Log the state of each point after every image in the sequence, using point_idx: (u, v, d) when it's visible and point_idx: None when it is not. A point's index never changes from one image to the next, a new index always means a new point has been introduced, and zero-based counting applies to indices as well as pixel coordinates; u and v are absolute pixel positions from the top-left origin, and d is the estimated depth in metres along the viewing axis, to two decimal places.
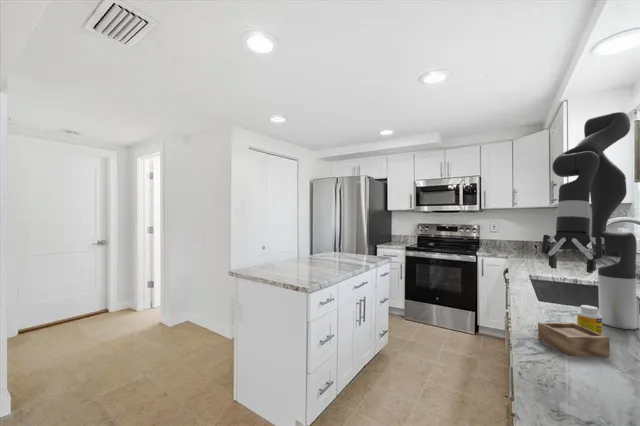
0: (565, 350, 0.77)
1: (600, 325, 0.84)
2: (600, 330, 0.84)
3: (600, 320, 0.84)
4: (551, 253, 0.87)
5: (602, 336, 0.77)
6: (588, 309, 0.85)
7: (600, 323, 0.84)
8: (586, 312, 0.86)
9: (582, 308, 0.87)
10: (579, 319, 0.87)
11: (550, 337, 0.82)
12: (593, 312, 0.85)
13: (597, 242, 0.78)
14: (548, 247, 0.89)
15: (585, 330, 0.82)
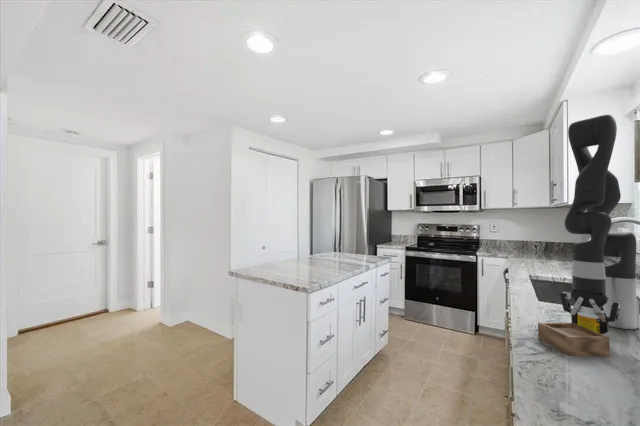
0: (565, 350, 0.77)
1: None
2: None
3: (600, 320, 0.84)
4: (574, 312, 0.89)
5: (602, 336, 0.77)
6: (588, 309, 0.85)
7: None
8: (586, 312, 0.86)
9: (582, 308, 0.87)
10: (579, 319, 0.87)
11: (550, 337, 0.82)
12: (593, 312, 0.85)
13: (613, 307, 0.81)
14: (568, 304, 0.92)
15: (585, 330, 0.82)
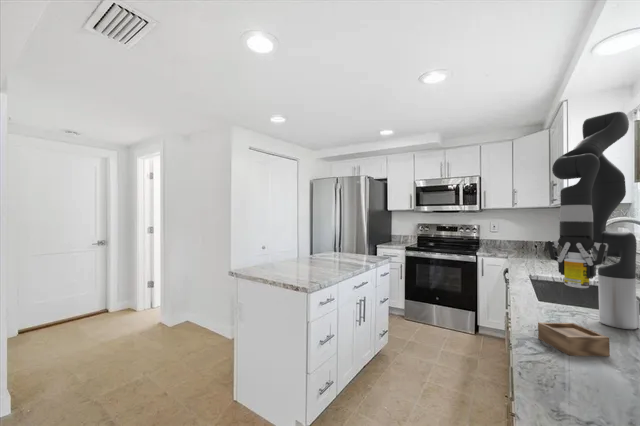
0: (565, 350, 0.77)
1: None
2: None
3: (587, 264, 0.81)
4: (560, 260, 0.86)
5: (602, 336, 0.77)
6: (575, 254, 0.83)
7: None
8: (573, 257, 0.83)
9: (569, 254, 0.84)
10: (566, 265, 0.84)
11: (550, 337, 0.82)
12: (580, 257, 0.82)
13: (600, 249, 0.78)
14: (555, 252, 0.89)
15: (585, 330, 0.82)
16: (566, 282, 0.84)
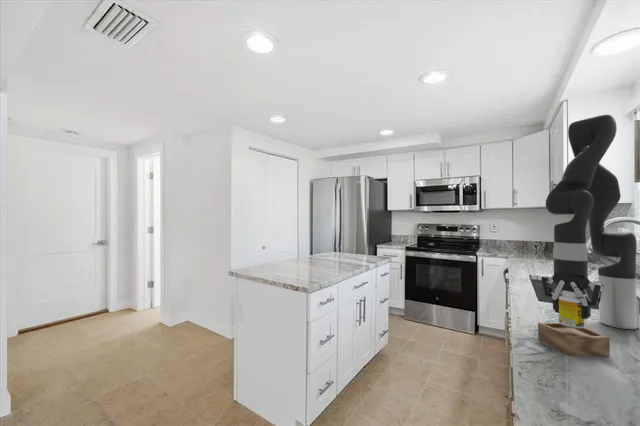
0: (565, 350, 0.77)
1: None
2: None
3: (582, 304, 0.79)
4: (555, 297, 0.84)
5: (602, 336, 0.77)
6: (569, 293, 0.81)
7: None
8: (567, 296, 0.81)
9: (563, 292, 0.82)
10: (560, 304, 0.82)
11: (550, 337, 0.82)
12: (574, 296, 0.80)
13: (595, 290, 0.76)
14: (550, 289, 0.87)
15: (585, 330, 0.82)
16: (561, 321, 0.82)
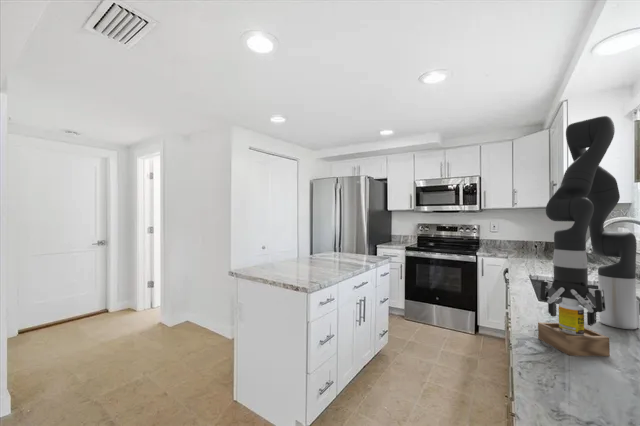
0: (565, 350, 0.77)
1: (582, 317, 0.79)
2: (582, 322, 0.79)
3: (582, 312, 0.79)
4: (550, 301, 0.85)
5: (602, 336, 0.77)
6: (569, 300, 0.81)
7: (582, 315, 0.79)
8: (567, 303, 0.81)
9: (563, 299, 0.82)
10: (560, 311, 0.82)
11: (550, 337, 0.82)
12: (575, 303, 0.80)
13: (596, 295, 0.76)
14: (546, 293, 0.88)
15: (585, 330, 0.82)
16: (561, 328, 0.82)
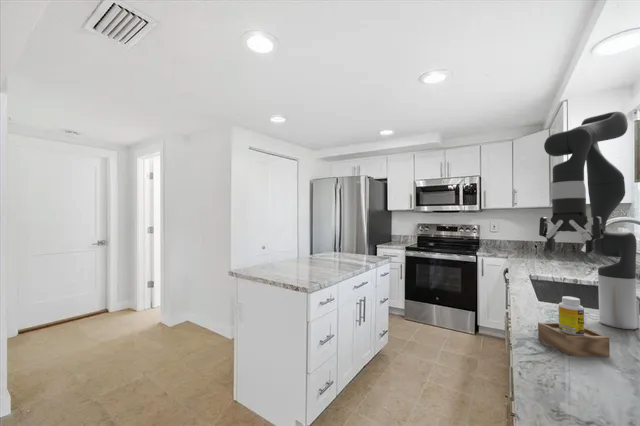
0: (565, 350, 0.77)
1: (582, 317, 0.79)
2: (582, 322, 0.79)
3: (582, 312, 0.79)
4: (549, 236, 0.86)
5: (602, 336, 0.77)
6: (569, 300, 0.81)
7: (582, 315, 0.79)
8: (567, 303, 0.81)
9: (563, 299, 0.82)
10: (560, 311, 0.82)
11: (550, 337, 0.82)
12: (575, 303, 0.80)
13: (595, 222, 0.77)
14: (545, 229, 0.88)
15: (585, 330, 0.82)
16: (561, 328, 0.82)
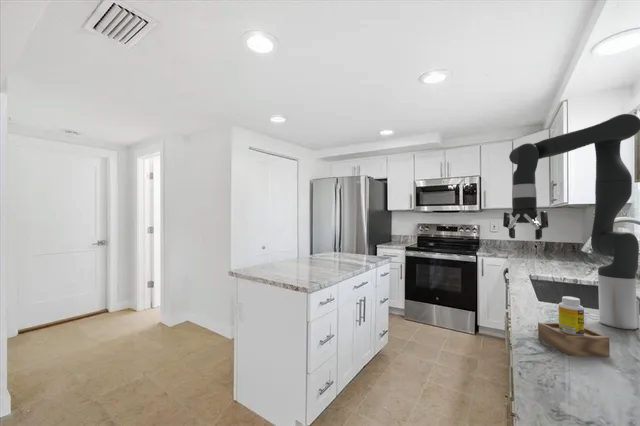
0: (565, 350, 0.77)
1: (582, 317, 0.79)
2: (582, 322, 0.79)
3: (582, 312, 0.79)
4: (510, 226, 1.10)
5: (602, 336, 0.77)
6: (569, 300, 0.81)
7: (582, 315, 0.79)
8: (567, 303, 0.81)
9: (563, 299, 0.82)
10: (560, 311, 0.82)
11: (550, 337, 0.82)
12: (575, 303, 0.80)
13: (541, 215, 1.01)
14: (508, 222, 1.12)
15: (585, 330, 0.82)
16: (561, 328, 0.82)
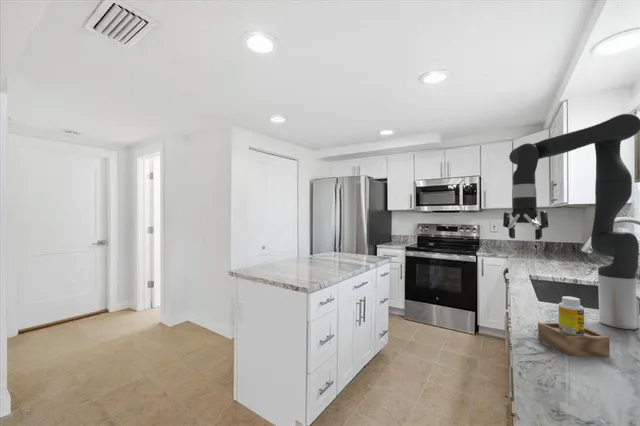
0: (565, 350, 0.77)
1: (582, 317, 0.79)
2: (582, 322, 0.79)
3: (582, 312, 0.79)
4: (510, 226, 1.10)
5: (602, 336, 0.77)
6: (569, 300, 0.81)
7: (582, 315, 0.79)
8: (567, 303, 0.81)
9: (563, 299, 0.82)
10: (560, 311, 0.82)
11: (550, 337, 0.82)
12: (575, 303, 0.80)
13: (541, 215, 1.01)
14: (508, 222, 1.12)
15: (585, 330, 0.82)
16: (561, 328, 0.82)
